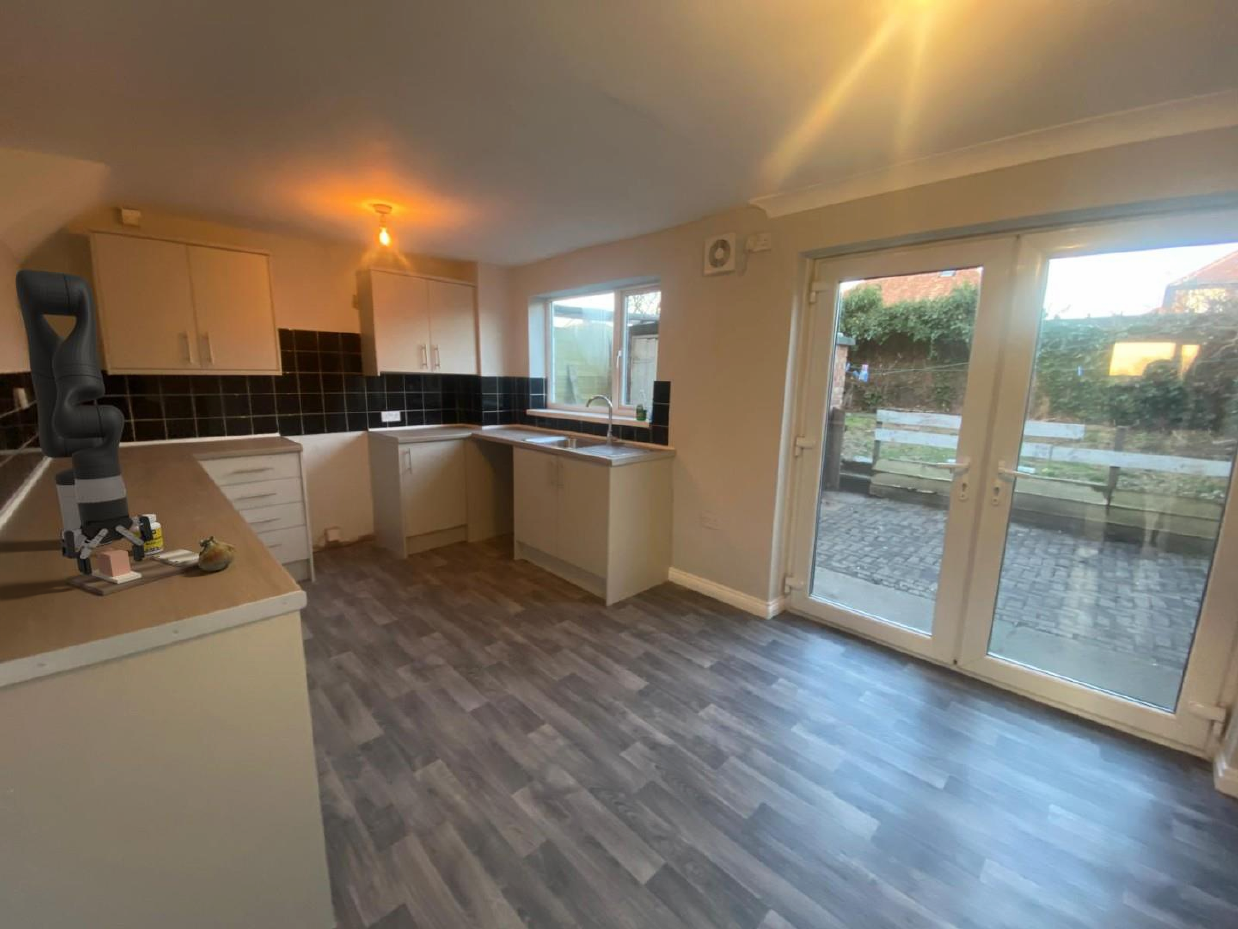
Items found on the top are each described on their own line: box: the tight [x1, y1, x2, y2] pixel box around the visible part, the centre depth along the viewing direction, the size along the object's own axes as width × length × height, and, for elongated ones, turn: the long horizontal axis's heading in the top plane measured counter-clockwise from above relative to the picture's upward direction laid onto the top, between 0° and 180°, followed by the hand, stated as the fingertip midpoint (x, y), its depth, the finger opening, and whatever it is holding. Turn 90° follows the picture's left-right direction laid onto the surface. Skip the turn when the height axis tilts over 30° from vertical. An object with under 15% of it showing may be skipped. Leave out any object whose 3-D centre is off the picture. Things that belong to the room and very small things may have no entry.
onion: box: [198, 535, 237, 572], centre depth 117 cm, size 8×8×8 cm
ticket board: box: [66, 548, 201, 596], centre depth 115 cm, size 16×20×2 cm
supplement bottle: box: [131, 513, 165, 556], centre depth 128 cm, size 5×5×10 cm
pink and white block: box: [90, 547, 141, 584], centre depth 110 cm, size 12×4×6 cm, turn 67°
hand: (113, 567), depth 110 cm, fingers open, 8 cm apart
